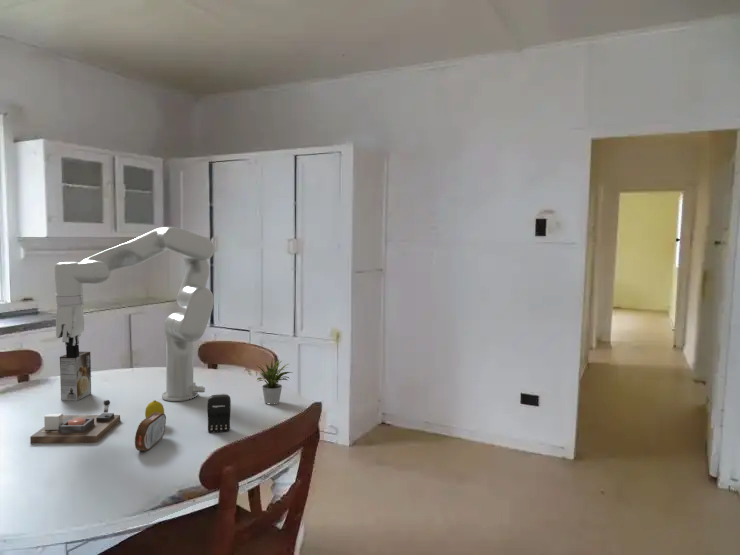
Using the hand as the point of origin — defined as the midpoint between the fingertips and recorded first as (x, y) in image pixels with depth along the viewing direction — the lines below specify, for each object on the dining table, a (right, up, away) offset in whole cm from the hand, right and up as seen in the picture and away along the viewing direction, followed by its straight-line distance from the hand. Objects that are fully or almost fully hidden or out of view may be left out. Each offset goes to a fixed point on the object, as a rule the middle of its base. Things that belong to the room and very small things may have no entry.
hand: (72, 357), depth 168 cm
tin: (+33, -23, -18) cm, 44 cm away
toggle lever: (+12, -18, -4) cm, 22 cm away
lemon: (+27, -21, -2) cm, 35 cm away
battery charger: (+49, -22, -6) cm, 54 cm away
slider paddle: (+2, -19, -13) cm, 23 cm away
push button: (+8, -19, -12) cm, 24 cm away
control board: (+7, -21, -9) cm, 24 cm away
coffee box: (-12, -18, +24) cm, 33 cm away
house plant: (+59, -20, +22) cm, 66 cm away
